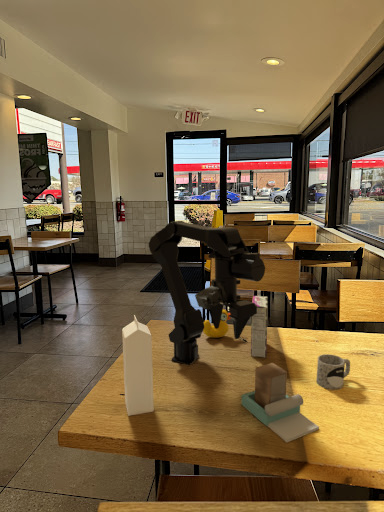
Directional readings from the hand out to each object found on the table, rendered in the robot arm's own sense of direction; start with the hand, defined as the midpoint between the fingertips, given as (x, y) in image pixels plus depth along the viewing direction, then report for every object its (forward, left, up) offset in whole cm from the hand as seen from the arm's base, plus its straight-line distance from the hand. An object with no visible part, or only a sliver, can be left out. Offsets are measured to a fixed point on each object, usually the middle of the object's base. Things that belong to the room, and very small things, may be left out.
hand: (226, 333), depth 98 cm
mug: (+27, +11, -13) cm, 32 cm away
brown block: (+15, -9, -13) cm, 21 cm away
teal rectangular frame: (+17, -11, -13) cm, 24 cm away
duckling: (-13, +25, -13) cm, 31 cm away
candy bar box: (+3, +21, -13) cm, 25 cm away
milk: (-13, -22, -13) cm, 29 cm away
